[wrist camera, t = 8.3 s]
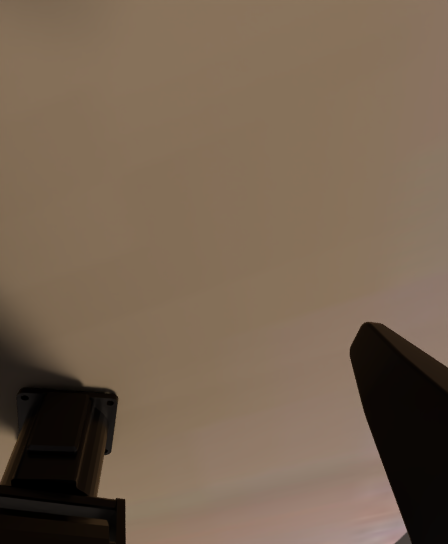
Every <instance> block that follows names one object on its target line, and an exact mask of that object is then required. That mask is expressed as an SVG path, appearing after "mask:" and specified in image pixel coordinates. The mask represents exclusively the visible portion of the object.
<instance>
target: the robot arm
mask: <svg viewBox="0 0 448 544" xmlns="http://www.w3.org/2000/svg"><path fill="white" fill-rule="evenodd" d="M350 359H351V363H352V367H353V371H354V375H355V379H356V383H357V387H358V390H359V394H360V398H361V402H362V406H363V409H364V413H365V416H366V419H367V422H368V425H369V428H370V430H371V433H372V436H373V439H374V441H375V444H376V447H377V449H378V452H379V455H380V458H381V460H382V463H383V466H384V469H385V471H386V474H387V477H388V480H389V482H390V485H391V488H392V491H393V493H394V496H395V499H396V502H397V504H398V507H399V510H400V513H401V515H402V518H403V521H404V524H405V526H406V529H407V532H408V535H409V537H410V540H411V543H412V544H448V367H446V366H445V365H443V364H442V363H440V362H439V361H437V360H436V359H434V358H433V357H431V356H430V355H428V354H427V353H425V352H424V351H422V350H421V349H419V348H418V347H416V346H415V345H413V344H412V343H410V342H409V341H407V340H406V339H404V338H403V337H401V336H400V335H398V334H397V333H395V332H394V331H392V330H391V329H389V328H388V327H386V326H385V325H383V324H381V323H374V322H365V323H364V324H362V326H361V327H360V329H359V331H358V333H357V335H356V337H355V339H354V341H353V343H352V345H351V347H350ZM117 404H118V397H117V396H116V395H115V394H108V393H93V392H78V391H63V390H48V389H33V388H23V389H21V390H20V391H19V393H18V395H17V409H18V425H19V436H18V439H17V442H16V444H15V447H14V449H13V452H12V454H11V457H10V459H9V462H8V464H7V467H6V470H5V472H4V475H3V477H2V480H1V482H0V544H126V537H125V499H120V498H116V499H115V500H114V499H107V498H99V497H97V493H98V487H99V482H100V476H101V470H102V464H103V458H104V455H108V454H110V453H111V449H112V442H113V435H114V427H115V419H116V412H117Z"/></svg>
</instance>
